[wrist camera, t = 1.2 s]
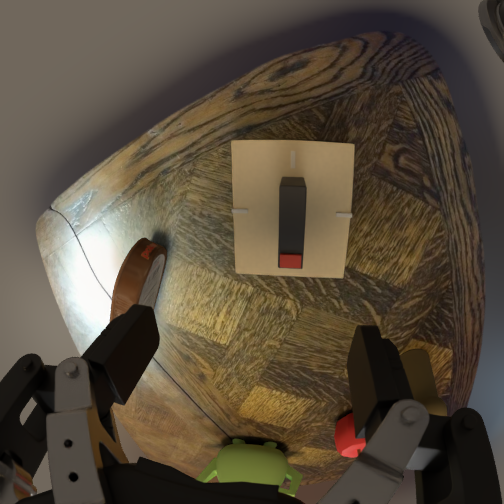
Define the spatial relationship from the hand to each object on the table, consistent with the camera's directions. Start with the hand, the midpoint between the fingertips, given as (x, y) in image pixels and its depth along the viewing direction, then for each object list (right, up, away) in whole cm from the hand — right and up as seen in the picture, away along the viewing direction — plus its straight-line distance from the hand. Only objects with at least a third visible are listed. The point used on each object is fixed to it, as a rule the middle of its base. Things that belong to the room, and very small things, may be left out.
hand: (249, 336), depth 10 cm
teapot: (+1, -36, +35) cm, 50 cm away
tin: (-12, -1, +22) cm, 25 cm away
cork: (+22, -12, +21) cm, 33 cm away
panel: (+4, +8, +15) cm, 18 cm away
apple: (+17, -24, +27) cm, 40 cm away
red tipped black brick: (+3, +6, +13) cm, 15 cm away
